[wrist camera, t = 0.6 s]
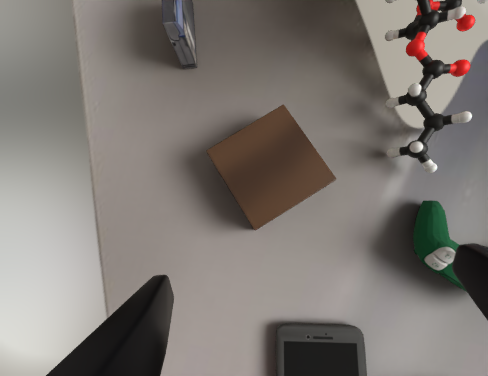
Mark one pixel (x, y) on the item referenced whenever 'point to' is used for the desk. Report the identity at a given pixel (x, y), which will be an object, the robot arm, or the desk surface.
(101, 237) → the desk surface
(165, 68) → the desk surface
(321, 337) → the cell phone
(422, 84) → the molecular model
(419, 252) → the gaming controller
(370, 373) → the desk surface
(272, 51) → the desk surface
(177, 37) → the mini dv tape
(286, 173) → the block
